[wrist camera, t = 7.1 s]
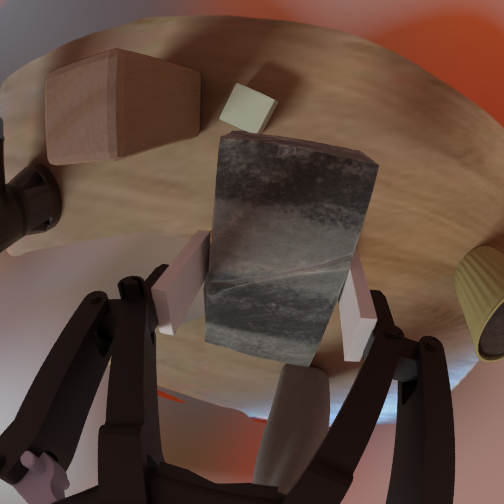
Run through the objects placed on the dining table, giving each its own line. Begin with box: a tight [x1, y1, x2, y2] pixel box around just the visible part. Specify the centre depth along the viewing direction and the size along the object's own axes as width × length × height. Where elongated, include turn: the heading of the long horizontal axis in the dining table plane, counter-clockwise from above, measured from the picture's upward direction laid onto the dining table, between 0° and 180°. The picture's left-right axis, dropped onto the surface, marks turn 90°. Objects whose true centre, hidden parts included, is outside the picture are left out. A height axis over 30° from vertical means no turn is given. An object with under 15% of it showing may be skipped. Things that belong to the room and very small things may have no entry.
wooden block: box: [45, 48, 201, 165], centre depth 27 cm, size 10×10×20 cm
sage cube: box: [219, 83, 278, 134], centre depth 32 cm, size 5×5×5 cm
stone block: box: [203, 131, 379, 367], centre depth 17 cm, size 9×14×5 cm, turn 172°
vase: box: [253, 364, 330, 494], centre depth 42 cm, size 12×12×30 cm
